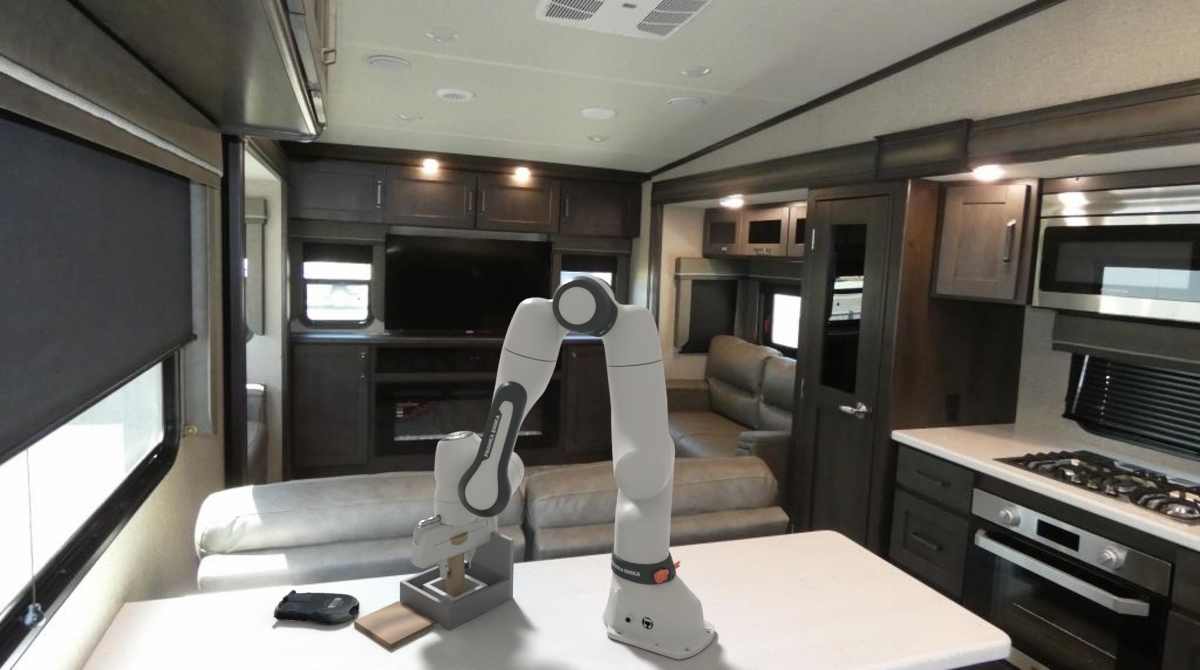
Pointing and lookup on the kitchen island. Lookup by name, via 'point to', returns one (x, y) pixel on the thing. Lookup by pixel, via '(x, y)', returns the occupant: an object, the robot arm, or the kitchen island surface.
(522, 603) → the kitchen island surface
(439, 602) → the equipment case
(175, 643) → the kitchen island surface
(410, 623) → the walnut pad
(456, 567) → the handle
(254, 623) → the kitchen island surface
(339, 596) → the electronic device
